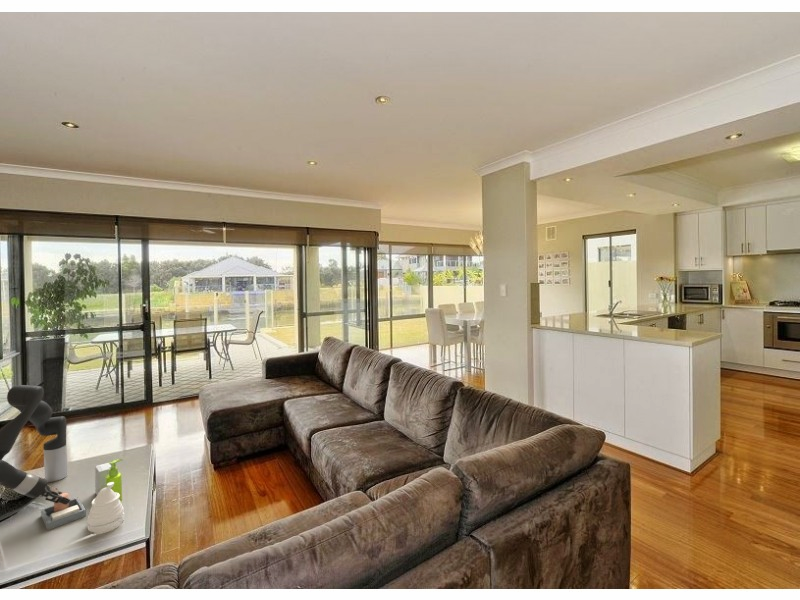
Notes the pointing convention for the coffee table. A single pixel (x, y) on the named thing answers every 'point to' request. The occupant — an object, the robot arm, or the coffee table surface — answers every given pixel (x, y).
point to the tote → (65, 519)
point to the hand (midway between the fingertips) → (66, 499)
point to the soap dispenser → (115, 478)
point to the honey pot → (105, 511)
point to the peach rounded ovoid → (61, 504)
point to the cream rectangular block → (64, 512)
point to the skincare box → (101, 476)
